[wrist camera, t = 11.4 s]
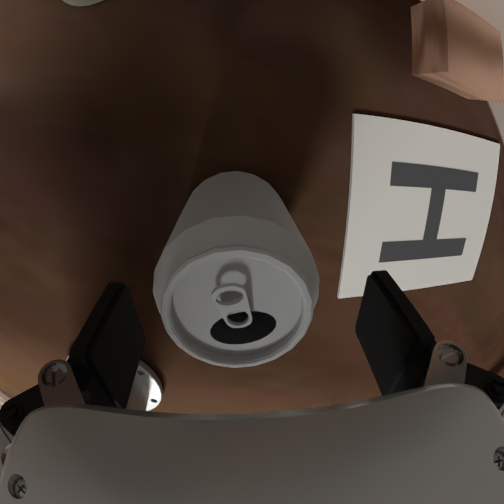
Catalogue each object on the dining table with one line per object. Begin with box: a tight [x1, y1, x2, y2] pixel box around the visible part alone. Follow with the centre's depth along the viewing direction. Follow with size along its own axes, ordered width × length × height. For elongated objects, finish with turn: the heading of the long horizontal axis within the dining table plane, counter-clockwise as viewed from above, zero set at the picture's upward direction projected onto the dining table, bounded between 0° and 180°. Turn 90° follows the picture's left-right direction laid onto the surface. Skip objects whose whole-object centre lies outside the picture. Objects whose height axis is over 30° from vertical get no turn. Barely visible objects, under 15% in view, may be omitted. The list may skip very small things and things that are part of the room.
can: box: [153, 171, 319, 368], centre depth 16 cm, size 8×8×12 cm
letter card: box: [337, 114, 500, 298], centre depth 22 cm, size 16×18×1 cm
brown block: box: [410, 0, 504, 103], centre depth 14 cm, size 7×7×5 cm
